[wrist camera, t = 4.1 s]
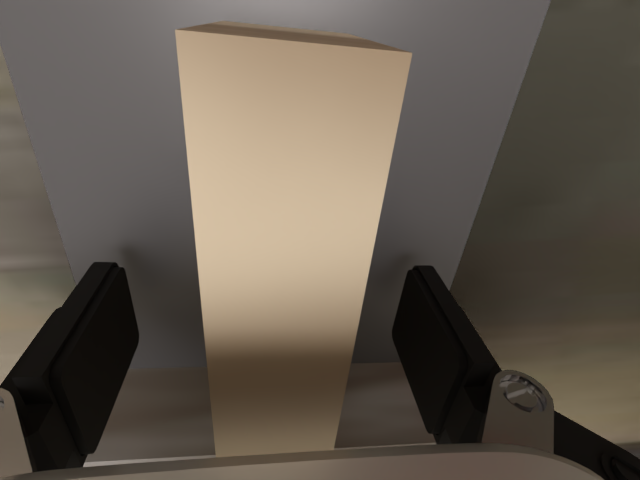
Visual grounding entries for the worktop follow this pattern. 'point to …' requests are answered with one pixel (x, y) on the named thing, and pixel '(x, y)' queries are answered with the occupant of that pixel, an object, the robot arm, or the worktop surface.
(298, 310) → the scraper
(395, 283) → the grey platform with tray
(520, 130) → the worktop surface
